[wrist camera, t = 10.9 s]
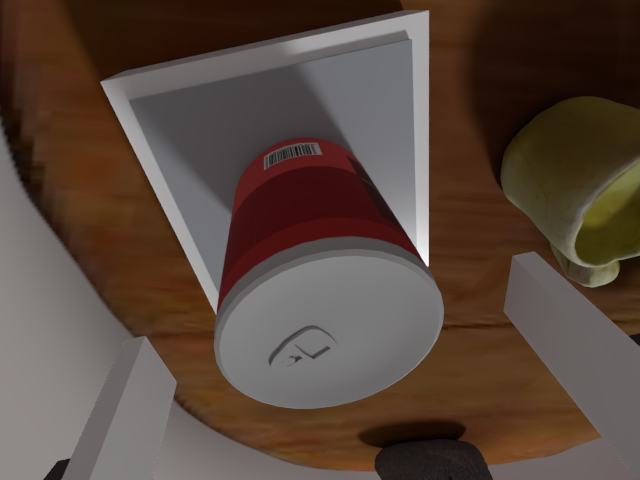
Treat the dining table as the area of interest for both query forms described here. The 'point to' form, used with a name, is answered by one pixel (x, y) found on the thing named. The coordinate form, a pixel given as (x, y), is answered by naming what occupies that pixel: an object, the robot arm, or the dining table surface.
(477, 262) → the dining table surface
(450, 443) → the perforated stone tool
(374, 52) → the tray
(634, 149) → the mug
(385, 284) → the canned food
